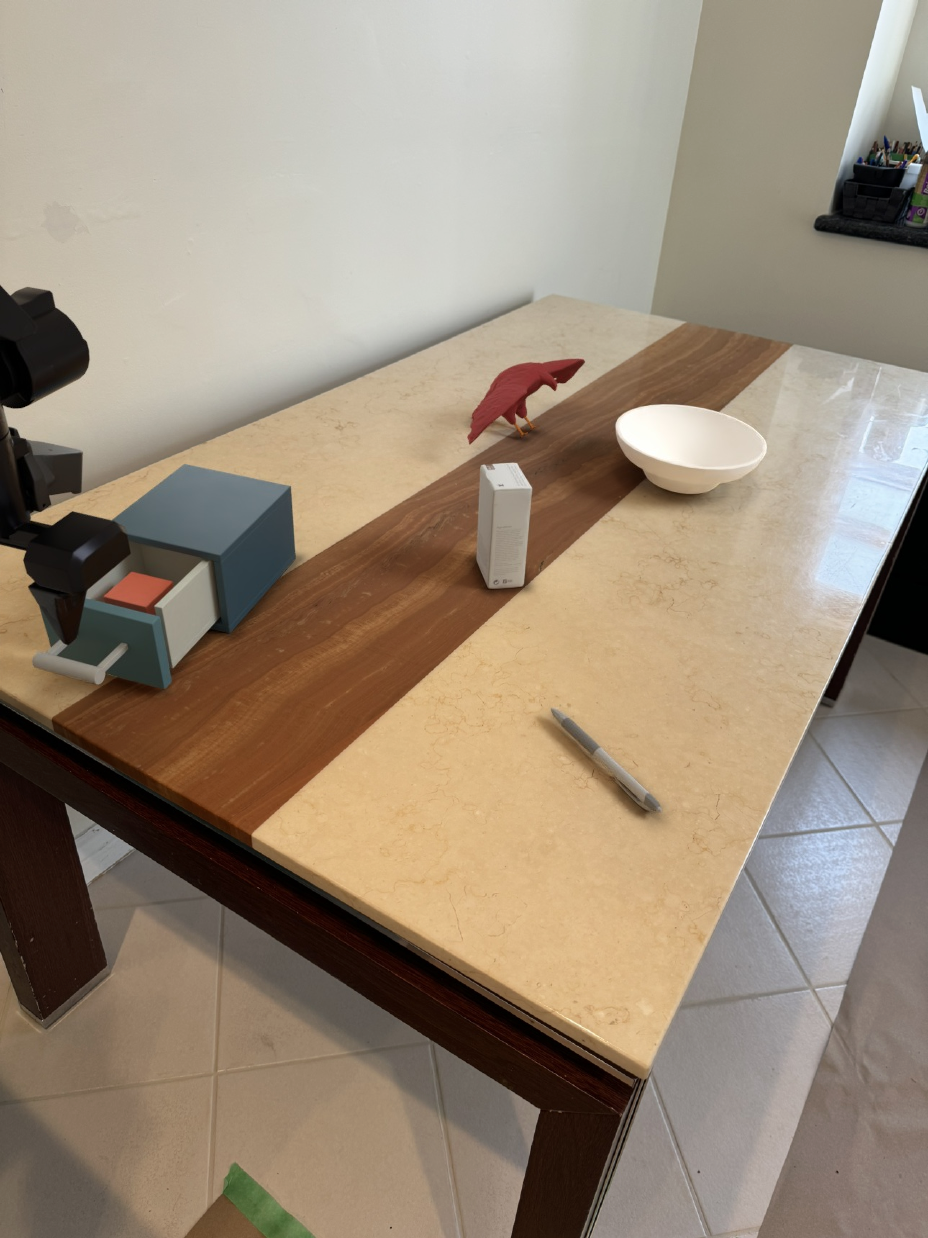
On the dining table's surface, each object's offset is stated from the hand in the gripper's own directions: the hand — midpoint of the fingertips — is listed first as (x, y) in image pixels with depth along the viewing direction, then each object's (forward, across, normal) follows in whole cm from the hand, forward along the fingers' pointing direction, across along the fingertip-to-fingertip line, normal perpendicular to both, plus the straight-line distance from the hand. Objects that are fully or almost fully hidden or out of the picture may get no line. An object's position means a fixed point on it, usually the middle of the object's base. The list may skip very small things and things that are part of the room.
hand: (18, 627), depth 66 cm
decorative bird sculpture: (+12, -20, -76) cm, 79 cm away
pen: (+12, -44, -14) cm, 48 cm away
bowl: (+12, -45, -70) cm, 84 cm away
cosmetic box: (+12, -28, -39) cm, 49 cm away
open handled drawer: (+11, 0, -12) cm, 16 cm away
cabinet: (+12, 0, -26) cm, 28 cm away
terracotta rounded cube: (+10, 0, -14) cm, 17 cm away
